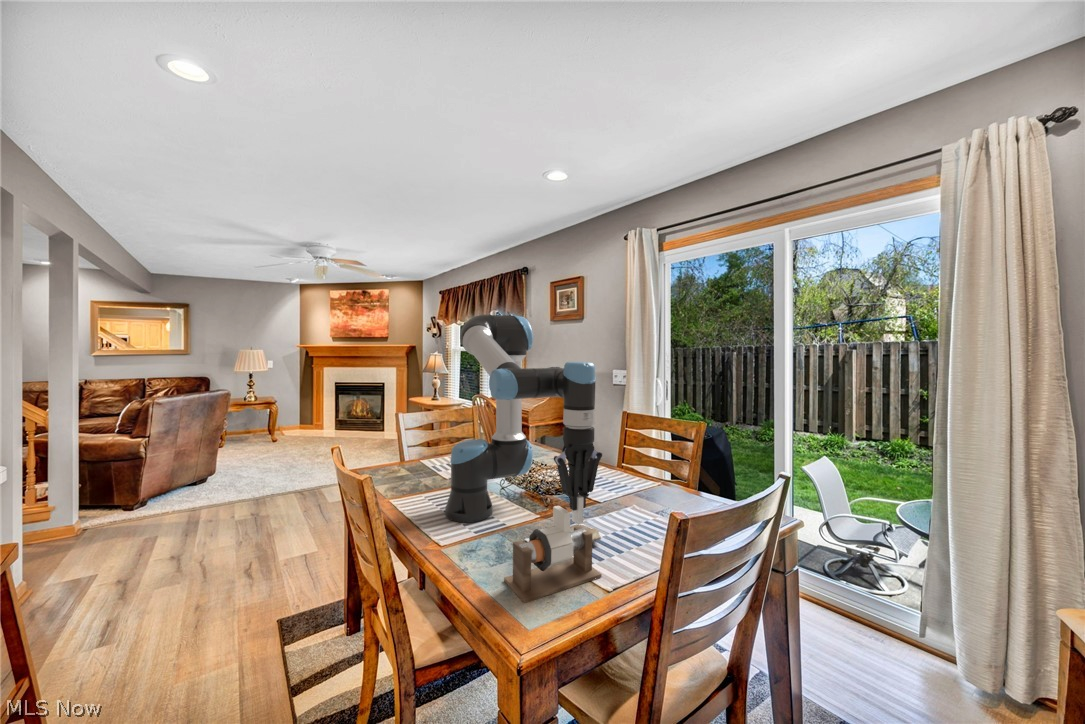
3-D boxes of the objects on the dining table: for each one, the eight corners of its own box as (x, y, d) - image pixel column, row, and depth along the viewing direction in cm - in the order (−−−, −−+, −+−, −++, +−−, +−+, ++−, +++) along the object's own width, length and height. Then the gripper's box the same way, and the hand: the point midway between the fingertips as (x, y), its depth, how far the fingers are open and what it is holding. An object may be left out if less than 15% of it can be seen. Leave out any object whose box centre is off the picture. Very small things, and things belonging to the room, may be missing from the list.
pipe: (579, 542, 111) (579, 525, 110) (589, 550, 107) (590, 532, 107) (515, 560, 101) (515, 541, 101) (524, 568, 98) (524, 549, 97)
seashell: (549, 542, 124) (550, 532, 124) (575, 529, 133) (575, 519, 132) (583, 556, 116) (583, 545, 116) (608, 541, 125) (608, 531, 125)
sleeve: (554, 552, 109) (555, 503, 109) (573, 567, 102) (573, 514, 102) (533, 558, 106) (534, 507, 105) (551, 573, 99) (551, 519, 99)
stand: (577, 559, 114) (578, 521, 114) (601, 577, 105) (602, 536, 105) (504, 580, 103) (504, 539, 103) (524, 602, 95) (524, 557, 94)
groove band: (539, 553, 105) (540, 534, 105) (550, 562, 101) (550, 542, 101) (526, 557, 103) (526, 537, 103) (536, 566, 99) (536, 546, 99)
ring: (533, 559, 106) (533, 524, 106) (551, 575, 99) (552, 538, 99) (528, 560, 106) (528, 525, 105) (546, 577, 98) (546, 539, 98)
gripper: (564, 431, 100) (563, 533, 101) (610, 426, 106) (608, 522, 107) (547, 425, 106) (546, 521, 107) (591, 421, 113) (590, 511, 114)
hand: (577, 521), depth 107 cm, fingers closed
